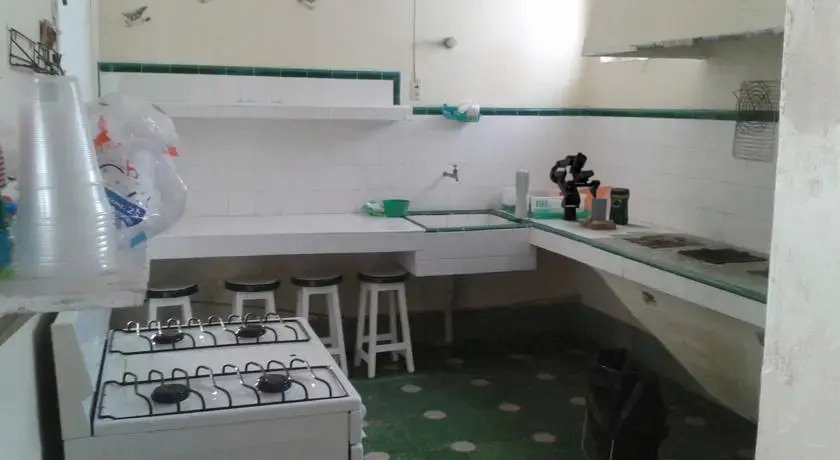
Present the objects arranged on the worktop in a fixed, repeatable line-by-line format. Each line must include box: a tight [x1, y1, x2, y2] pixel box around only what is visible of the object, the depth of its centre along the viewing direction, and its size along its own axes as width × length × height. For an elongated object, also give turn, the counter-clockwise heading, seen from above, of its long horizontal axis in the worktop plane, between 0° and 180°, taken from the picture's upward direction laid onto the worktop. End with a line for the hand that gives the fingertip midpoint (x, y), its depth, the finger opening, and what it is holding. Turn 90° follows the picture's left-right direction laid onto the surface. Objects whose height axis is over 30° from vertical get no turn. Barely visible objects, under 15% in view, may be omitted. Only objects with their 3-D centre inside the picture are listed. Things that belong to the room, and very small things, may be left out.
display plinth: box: [579, 217, 617, 231], centre depth 381 cm, size 14×12×4 cm
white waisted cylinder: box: [513, 166, 532, 220], centre depth 403 cm, size 8×8×28 cm
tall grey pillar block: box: [590, 197, 608, 222], centre depth 380 cm, size 5×6×12 cm
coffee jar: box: [608, 187, 631, 225], centre depth 396 cm, size 10×8×19 cm
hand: (587, 198), depth 388 cm, fingers open, 9 cm apart
